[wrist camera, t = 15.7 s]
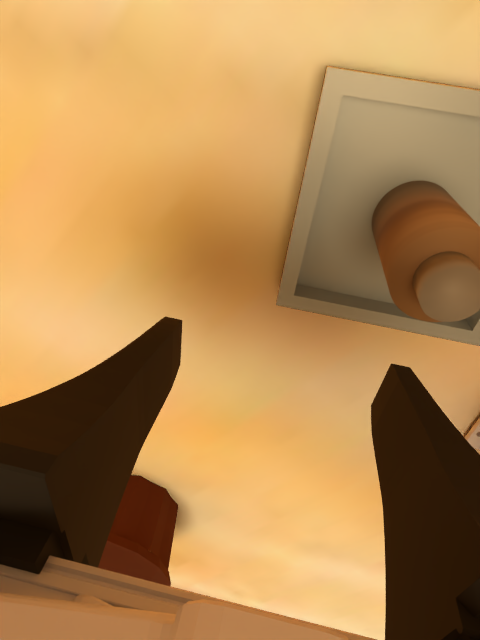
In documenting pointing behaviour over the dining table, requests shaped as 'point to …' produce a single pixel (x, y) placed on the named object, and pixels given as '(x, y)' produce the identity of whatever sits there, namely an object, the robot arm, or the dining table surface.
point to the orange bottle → (428, 252)
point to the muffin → (142, 533)
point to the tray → (376, 190)
